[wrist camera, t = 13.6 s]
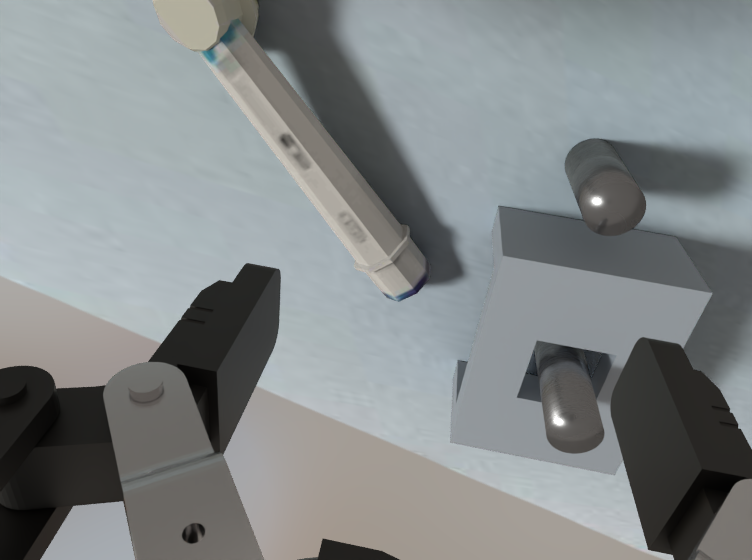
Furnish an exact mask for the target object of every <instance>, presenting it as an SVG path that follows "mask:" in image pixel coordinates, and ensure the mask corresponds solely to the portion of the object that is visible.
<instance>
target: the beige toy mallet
mask: <svg viewBox="0 0 752 560" xmlns="http://www.w3.org/2000/svg"><path fill="white" fill-rule="evenodd" d="M153 4H154V7H155V10H156V13H157V16H158V18H159V21H160V24H161V25H162V27H163V28H164V29H165V30H166V31H167V33H168V34H169V35H170V36H171V37H172V39H173V40H175V41H176V42H178V43H180V44H182V45H183V46H185V47H187V48H189V49H190V50H193V51H197V52H198V53H199V54H200V56H201V57H202V58H203V60H204V61H205V62H206V64H207V65H208V66H209V67H210V69H211V70H212V71H213V73H214V74H215V75H216V77H217V78H218V79H219V81H220V82H221V83H222V85H223V86H224V87H225V89H226V90H227V91H228V93H229V94H230V95H231V97H232V98H233V99H234V100H235V102H236V103H237V104H238V106H239V107H240V108H241V110H242V111H243V112H244V114H245V115H246V116H247V118H248V119H249V120H250V122H251V123H252V124H253V126H254V127H255V128H256V130H257V131H258V132H259V133H260V135H261V136H262V137H263V139H264V140H265V141H266V143H267V144H268V145H269V147H270V148H271V149H272V151H273V152H274V153H275V155H276V156H277V157H278V159H279V160H280V161H281V162H282V164H283V165H284V166H285V168H286V169H287V170H288V172H289V173H290V174H291V176H292V177H293V178H294V180H295V181H296V182H297V184H298V185H299V186H300V188H301V189H302V190H303V192H304V193H305V194H306V195H307V197H308V198H309V199H310V201H311V202H312V203H313V205H314V206H315V207H316V209H317V210H318V211H319V213H320V214H321V215H322V217H323V218H324V219H325V221H326V222H327V223H328V224H329V226H330V227H331V228H332V230H333V231H334V232H335V234H336V235H337V236H338V238H339V239H340V240H341V242H342V243H343V244H344V246H345V247H346V248H347V250H348V251H349V252H350V254H351V255H352V256H353V257H354V259H355V264H354V267H355V268H356V270H359V271H363V272H366V274H367V275H368V276H369V277H370V278H371V280H372V281H373V282H374V283H375V284H376V286H377V287H378V288H379V289H380V290H381V291H382V293H383V294H384V295H385V296H386V297H387V298H389V299H392V300H395V301H398V302H399V301H401V300H403V299H406V298H408V297H410V296H412V295H414V294H416V293H418V292H419V290H420V289H421V288H422V287H423V286H424V284H425V283H426V282H427V281H428V280H429V278H430V263H429V262H428V261H427V259H426V258H425V257H424V255H423V254H422V253H421V251H420V250H419V249H418V247H417V246H416V245H415V243H414V242H413V241H412V239H411V238H410V228H409V227H408V225H402V224H399V222H398V221H397V220H396V219H395V217H394V216H393V215H392V213H391V212H390V211H389V210H388V208H387V207H386V206H385V205H384V203H383V202H382V201H381V199H380V198H379V197H378V196H377V194H376V193H375V192H374V191H373V189H372V188H371V187H370V185H369V184H368V183H367V182H366V180H365V179H364V178H363V176H362V175H361V174H360V173H359V171H358V170H357V169H356V168H355V166H354V165H353V164H352V162H351V161H350V160H349V159H348V157H347V156H346V155H345V154H344V152H343V151H342V150H341V148H340V147H339V146H338V145H337V143H336V142H335V141H334V140H333V138H332V137H331V136H330V134H329V133H328V132H327V131H326V129H325V128H324V127H323V126H322V124H321V123H320V122H319V120H318V119H317V118H316V117H315V115H314V114H313V113H312V112H311V110H310V109H309V108H308V106H307V105H306V104H305V103H304V101H303V100H302V99H301V98H300V96H299V95H298V94H297V92H296V91H295V90H294V89H293V87H292V86H291V85H290V84H289V82H288V81H287V80H286V78H285V77H284V76H283V75H282V73H281V72H280V71H279V70H278V68H277V67H276V66H275V64H274V63H273V62H272V61H271V59H270V58H269V57H268V56H267V54H266V53H265V52H264V50H263V49H262V48H261V47H260V45H259V44H258V43H257V42H256V40H255V39H254V34H255V30H256V25H257V21H258V17H259V14H258V9H259V5H258V2H257V0H153Z"/></svg>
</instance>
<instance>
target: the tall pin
mask: <svg viewBox="0 0 752 560" xmlns="http://www.w3.org/2000/svg"><path fill="white" fill-rule="evenodd" d="M534 351H535V359H536V366H537V373H538V380H539V387H540V394H541V401H542V408H543V415H544V422H545V429H546V437H547V440H548V442H549V443H550V444H551V445H552V446H553V447H554V448H555V449H557V450H559V451H562V452H565V453H571V454H578V453H585V452H588V451H591V450H593V449H595V448H596V447H597V446H599V445H600V444H601V442H602V441H603V439H604V428H603V424H602V420H601V416H600V412H599V408H598V404H597V401H596V397H595V393H594V389H593V385H592V381H591V377H590V373H589V369H588V366H587V362H586V358H585V354H584V350H583V349H580V348H575V347H570V346H564V345H559V344H554V343H548V342H543V341H537V342H536V345H535V347H534Z"/></svg>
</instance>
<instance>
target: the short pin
mask: <svg viewBox="0 0 752 560" xmlns="http://www.w3.org/2000/svg"><path fill="white" fill-rule="evenodd" d="M565 171H566V174H567V177H568V179H569V182H570V185H571V187H572V190H573V193H574V195H575V198H576V200H577V203H578V206H579V208H580V211H581V214H582V216H583V219H584V221H585V223H586V225H587V226H588V228H589V229H590V230H592V231H593V232H595V233H597V234H599V235H603V236H616V235H621V234H624V233H626V232H628V231H630V230H631V229H633V228H634V227H635V226H636V225H637V224H638V223H639V222H640V221H641V219H642V218H643V216H644V213H645V210H646V200H645V197H644V195H643V193H642V192H641V190H640V188H639V187H638V185H637V184H636V182H635V180H634V179H633V177H632V176H631V174H630V173H629V171H628V169H627V168H626V166H625V165H624V163H623V162H622V160H621V158H620V157H619V155H618V154H617V152H616V150H615V149H614V147H613V146H612V145H611V144H610V143H608V142H607V141H604V140H601V139H588V140H585V141H582V142H580V143H578V144H577V145H576V146H574V147H573V148H572V149H571V150H570V152H569V153H568V155H567V157H566V160H565Z"/></svg>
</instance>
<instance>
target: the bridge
mask: <svg viewBox="0 0 752 560" xmlns="http://www.w3.org/2000/svg"><path fill="white" fill-rule="evenodd" d="M492 245H493V262H494V269H493V272H492V276H491V279H490V283H489V287H488V290H487V294H486V298H485V301H484V305H483V308H482V312H481V316H480V319H479V323H478V327H477V330H476V334H475V337H474V341H473V345H472V348H471V352H470V355H469V359H468V362H463V361H458V362H457V366H456V369H455V373H454V377H453V391H452V412H451V433H450V443H455V444H460V445H465V446H470V447H475V448H480V449H485V450H490V451H495V452H500V453H505V454H510V455H516V456H521V457H526V458H531V459H536V460H541V461H546V462H551V463H556V464H561V465H566V466H571V467H576V468H581V469H586V470H591V471H596V472H601V473H606V474H611V475H615V474H616V472H617V470H618V468H619V466H620V464H621V463H622V461H623V457H622V454H621V450H620V446H619V443H618V439H617V436H616V432H615V429H614V425H613V421H612V418H611V412H610V404H611V397H612V393H613V390H614V387H615V385H616V383H617V381H618V379H619V377H620V374H621V372H622V370H623V368H624V366H625V364H626V362H627V360H628V358H629V356H630V354H631V351H632V349H633V347H634V345H635V343H636V342H637V341H638V340H639V339H640V338H642V337H645V338H651V339H656V340H662V341H667V342H672V343H678V344H680V345H681V346H682V348H684V346H685V344H686V342H687V340H688V338H689V336H690V335H691V333H692V331H693V329H694V327H695V325H696V323H697V322H698V320H699V318H700V316H701V314H702V312H703V311H704V309H705V307H706V305H707V303H708V301H709V299H710V298H711V296H712V294H713V293H712V291H711V290H710V288H709V287H708V285H707V284H706V282H705V281H704V279H703V278H702V276H701V274H700V273H699V271H698V270H697V268H696V267H695V265H694V264H693V262H692V261H691V259H690V258H689V256H688V254H687V253H686V251H685V250H684V248H683V247H682V245H681V244H680V242H679V241H678V239H677V238H676V237H674V236H669V235H663V234H657V233H651V232H646V231H640V230H634V229H631V230H630V231H628V232H626V233H624V234H621V235H616V236H603V235H599V234H597V233H595V232H593V231H592V230H590V229H589V228H588V226H587V225H586V223H585V221H582V220H576V219H571V218H565V217H559V216H553V215H548V214H542V213H536V212H530V211H525V210H519V209H513V208H507V207H502V206H498V210H497V214H496V217H495V221H494V225H493V229H492ZM537 341H543V342H548V343H554V344H559V345H564V346H570V347H575V348H580V349H586V350H591V351H596V352H602V353H603V354H602V356H601V358H600V361H599V363H598V365H597V367H596V370H595V372H594V374H593V377H592V379H591V381H592V385H593V389H594V393H595V397H596V401H597V404H598V408H599V412H600V416H601V420H602V424H603V428H604V439H603V441H602V442H601V444H600V445H599V446H597V447H596V448H595V449H593V450H591V451H588V452H585V453H578V454H571V453H565V452H562V451H559V450H557V449H555V448H554V447H553V446H552V445H551V444H550V443H549V442H548V440H547V437H546V429H545V422H544V415H543V408H542V401H541V394H540V387H539V380H538V376H536V375H531V374H526V370H527V367H528V364H529V362H530V359H531V356H532V353H533V350H534V347H535V345H536V342H537Z"/></svg>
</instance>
